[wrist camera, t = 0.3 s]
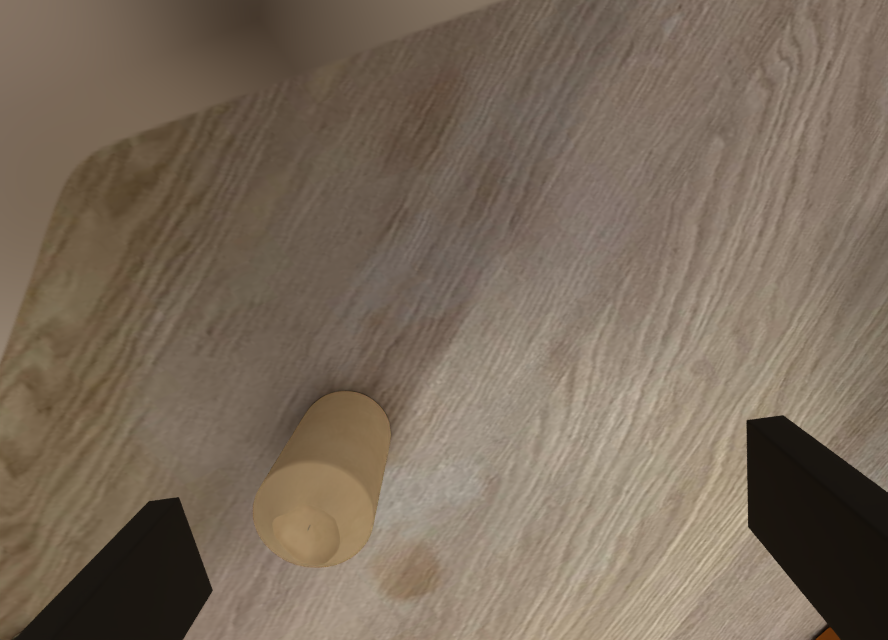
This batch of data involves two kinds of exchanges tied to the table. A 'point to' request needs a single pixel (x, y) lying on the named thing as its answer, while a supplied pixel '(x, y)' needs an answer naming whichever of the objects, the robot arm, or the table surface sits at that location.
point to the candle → (325, 482)
